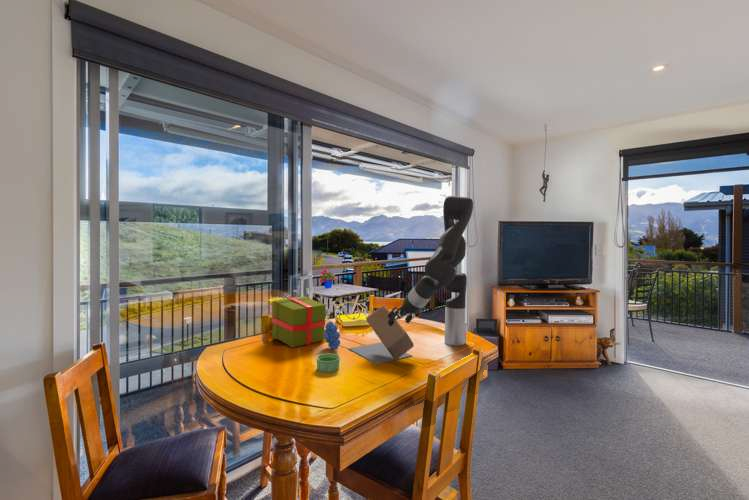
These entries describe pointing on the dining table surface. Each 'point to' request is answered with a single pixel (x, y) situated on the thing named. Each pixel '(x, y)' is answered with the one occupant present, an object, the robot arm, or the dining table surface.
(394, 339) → the block
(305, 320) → the gift box
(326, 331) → the grapes
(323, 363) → the ramekin
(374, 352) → the mat
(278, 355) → the dining table surface
